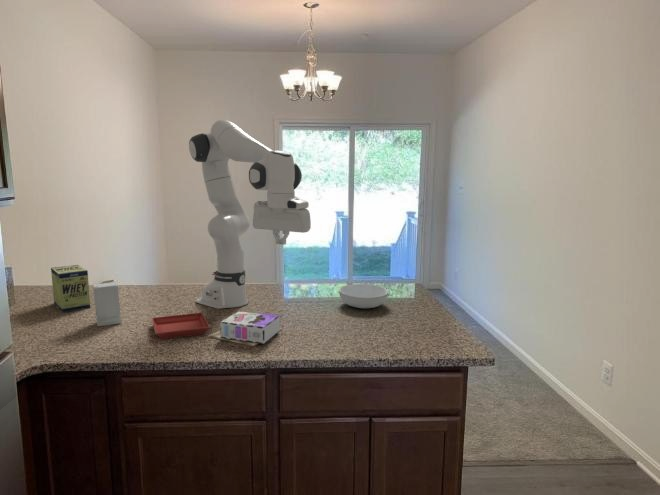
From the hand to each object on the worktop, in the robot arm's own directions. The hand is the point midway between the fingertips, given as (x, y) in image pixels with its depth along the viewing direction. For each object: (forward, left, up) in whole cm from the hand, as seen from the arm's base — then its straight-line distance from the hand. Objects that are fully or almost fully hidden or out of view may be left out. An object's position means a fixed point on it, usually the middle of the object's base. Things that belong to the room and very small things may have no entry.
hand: (281, 244), depth 154 cm
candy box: (-3, -1, -30) cm, 30 cm away
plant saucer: (-37, -8, -34) cm, 51 cm away
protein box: (-96, -7, -33) cm, 102 cm away
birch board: (-14, 0, -33) cm, 36 cm away
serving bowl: (+10, +51, -33) cm, 62 cm away
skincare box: (-65, -15, -33) cm, 75 cm away
